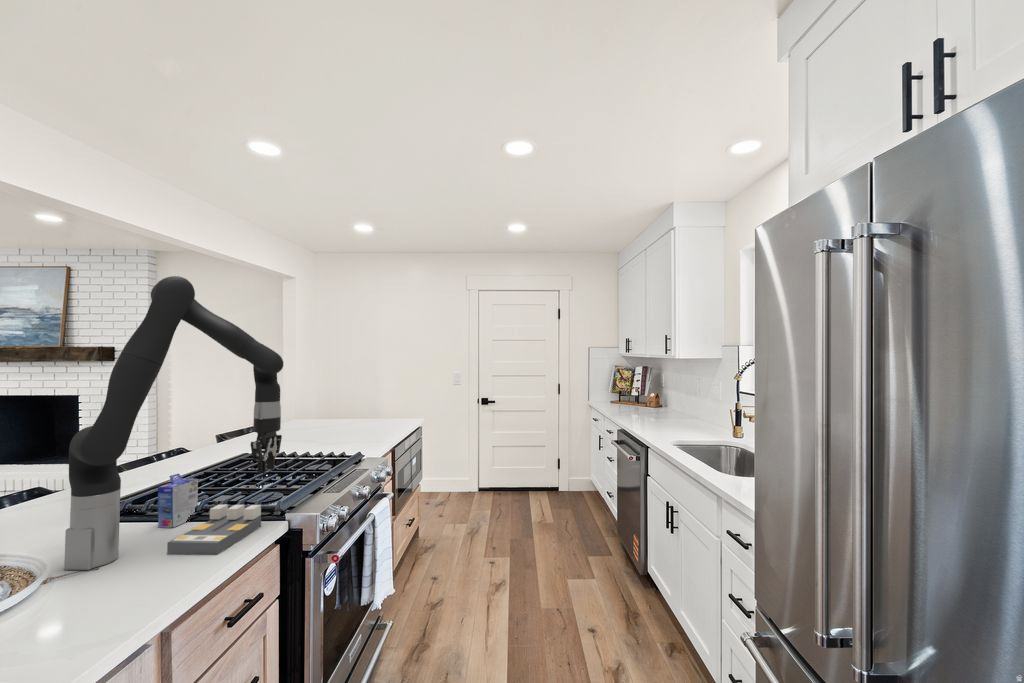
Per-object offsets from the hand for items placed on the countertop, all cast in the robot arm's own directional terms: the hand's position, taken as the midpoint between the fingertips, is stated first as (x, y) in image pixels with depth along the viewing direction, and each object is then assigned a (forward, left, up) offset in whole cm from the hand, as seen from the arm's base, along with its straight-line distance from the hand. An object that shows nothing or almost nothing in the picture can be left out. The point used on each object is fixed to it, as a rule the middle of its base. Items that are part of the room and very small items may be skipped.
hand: (266, 470), depth 145 cm
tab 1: (-7, +10, -12) cm, 17 cm away
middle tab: (-7, +5, -12) cm, 15 cm away
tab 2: (-7, 0, -12) cm, 14 cm away
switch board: (-15, +5, -15) cm, 22 cm away
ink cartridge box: (-2, +26, -16) cm, 30 cm away
